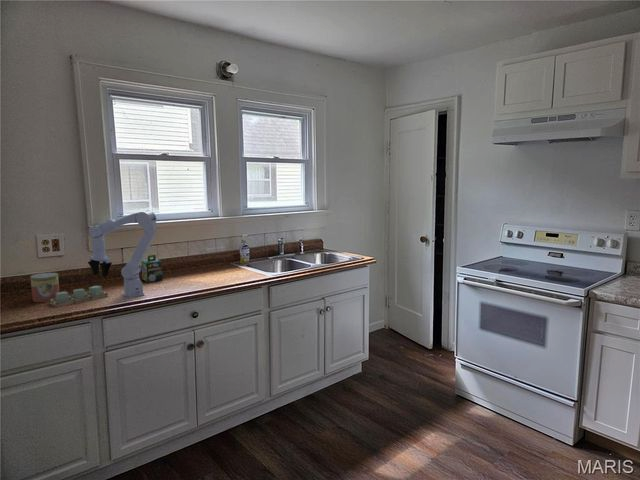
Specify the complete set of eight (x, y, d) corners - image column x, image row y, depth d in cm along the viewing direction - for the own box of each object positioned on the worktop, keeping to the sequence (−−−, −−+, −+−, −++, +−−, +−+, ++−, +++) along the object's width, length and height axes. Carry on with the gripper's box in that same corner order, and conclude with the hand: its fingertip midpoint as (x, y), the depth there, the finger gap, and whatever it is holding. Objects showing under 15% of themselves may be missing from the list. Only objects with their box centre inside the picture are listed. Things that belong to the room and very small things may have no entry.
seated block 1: (69, 303, 195) (68, 292, 194) (59, 305, 192) (58, 294, 191) (66, 301, 197) (65, 291, 196) (56, 303, 194) (55, 293, 193)
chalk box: (157, 277, 248) (156, 253, 246) (163, 280, 242) (162, 255, 239) (141, 279, 242) (140, 254, 240) (147, 282, 235) (145, 257, 233)
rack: (107, 297, 206) (107, 293, 205) (56, 307, 189) (55, 302, 188) (100, 294, 211) (100, 290, 211) (50, 303, 194) (49, 299, 194)
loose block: (102, 295, 207) (101, 286, 206) (96, 298, 203) (96, 288, 202) (94, 295, 208) (94, 285, 207) (89, 297, 204) (88, 287, 203)
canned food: (32, 304, 194) (30, 279, 192) (32, 298, 203) (29, 274, 201) (61, 300, 200) (59, 276, 198) (59, 294, 209) (57, 271, 207)
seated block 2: (85, 299, 200) (85, 289, 199) (76, 301, 197) (75, 291, 196) (82, 298, 203) (81, 288, 202) (73, 299, 200) (72, 289, 199)
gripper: (115, 249, 207) (117, 275, 209) (97, 246, 214) (99, 272, 216) (102, 251, 201) (104, 278, 203) (84, 248, 208) (86, 274, 210)
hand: (100, 275), depth 209 cm, fingers open, 7 cm apart
